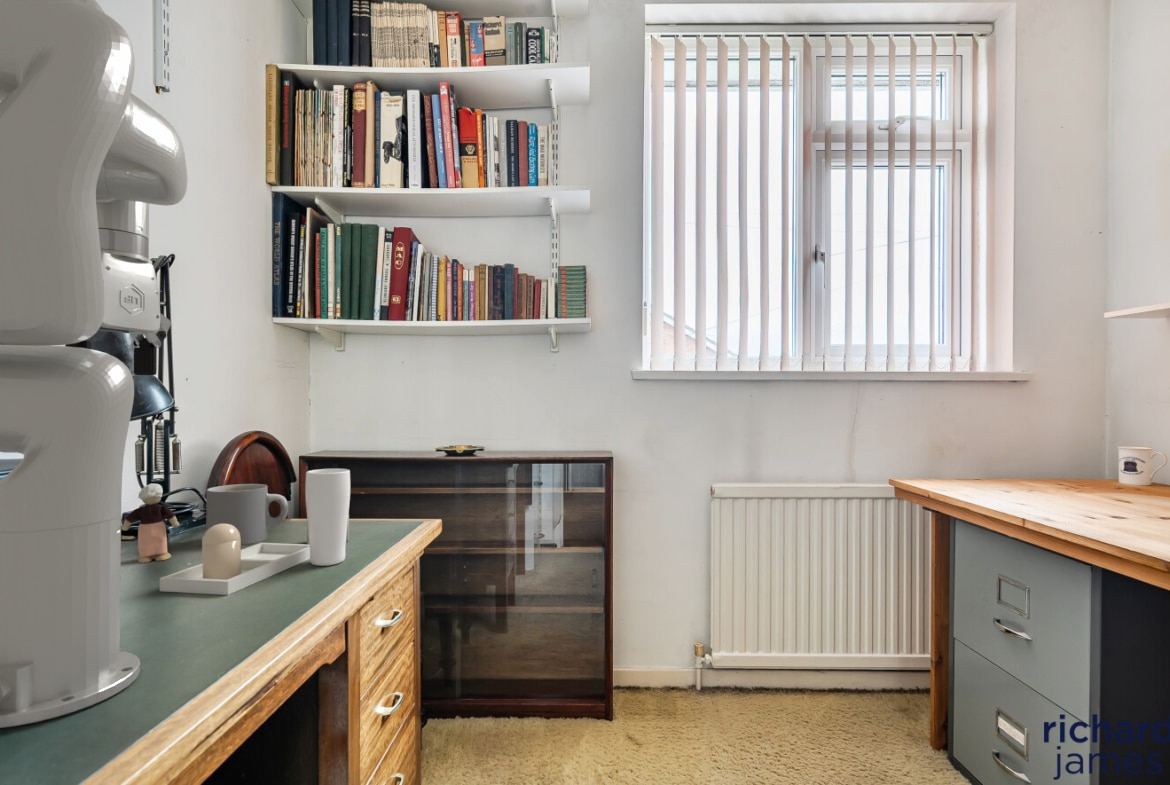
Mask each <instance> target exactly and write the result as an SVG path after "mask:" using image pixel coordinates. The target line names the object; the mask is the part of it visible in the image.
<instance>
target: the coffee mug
mask: <svg viewBox="0 0 1170 785" xmlns="http://www.w3.org/2000/svg"><path fill="white" fill-rule="evenodd" d="M268 488H269V487H268V485H267V484H263V483H262V484H261V483H240V484H239V483H238V484H228V485H225V484H224V485H219V486H213V487H209V488H207V489H206V501H205V502H206V516H205V519H206V520H205V521H206V524H205V525H206V528H205V530H206V531H207V530H208V529H209V528H211V527H212V526H214V525H217V524H222V523H226V524H230V525H233V526H234V527H236V528H237V529H238V531H239V533H240V539H241V547H242V546H249V545H255V544H259V543H262V542H263V541H266V540H267V539H268V533H269V531H270V529H271V528H273V527H275V526H278V525H280V524H282V523H283V522H284V521H285V520H286V518H287V516H288V513H289V512H288V511H289V503H288V500H287V499H286V497H285V496H283V495H281V494H277V493H268ZM272 502H277V503H278V504H279V506H280V513H279V514H278V516H276V517H273V516H271V515H270V512H269V508H270V504H272ZM206 531H205V532H206Z"/></svg>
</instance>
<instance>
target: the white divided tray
mask: <svg viewBox="0 0 1170 785" xmlns="http://www.w3.org/2000/svg"><path fill="white" fill-rule="evenodd" d="M308 560H310V545H309V544H307V543H306V544H303V543H300V544H299V543H276V542H258V543H255V544H252V545H250V546H248V547H244V548H242V549H241V574H240V575H238V576H235V577H233V578H230V579H228V580H223V579H203V564H202V563H200V564H196V565H193V566H191V567H188V568H184V569H181V570H179V571H177V572H174V573H171V574H168V575H165V576H161V577H160V578H159V592H168V593H170V592H171V593H187V594H203V595H221V596H229V595H231V594H234V593H235V592H238V591H241V590H243V589H245V588H247V587H249V586H252V585H254V584H256V583H258V582H260V581H263V580H265V579H267V578H270V577H272V576H274V575H277V574H279V573H281V572H283V571H286V570H288V569H290V568H292V567H294V566H297V565H299V564H301V563H303V562H306V561H308Z"/></svg>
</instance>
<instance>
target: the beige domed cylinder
mask: <svg viewBox="0 0 1170 785" xmlns="http://www.w3.org/2000/svg"><path fill="white" fill-rule="evenodd" d="M201 541H202V542H201V552H202V554H201V555H202V556H201V562H202V563H201V564H203V579H223V580H228V579H230V578H233V577H235V576H238V575H240V574H241V550H242V549H241V547H242V546H241V539H240V533H239V531H238V529H237V528H236V527H234V526H233V525H230V524H226V523H222V524H217V525H214V526H212V527H211V528H209V529H208V530H207V531H205V532H204V534H203V536H202V540H201Z"/></svg>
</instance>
